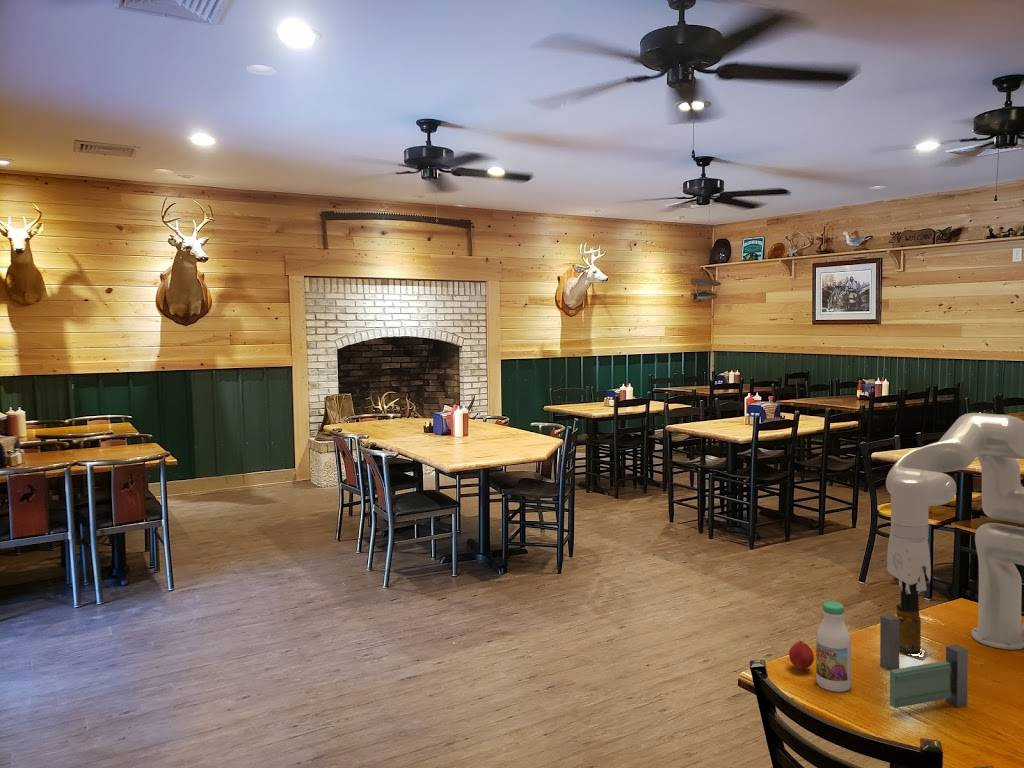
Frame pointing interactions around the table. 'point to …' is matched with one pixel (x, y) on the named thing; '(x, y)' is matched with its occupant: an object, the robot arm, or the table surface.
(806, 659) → the onion
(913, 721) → the table surface
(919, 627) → the condiment
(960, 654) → the gate posts
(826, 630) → the milk bottle
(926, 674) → the gate
